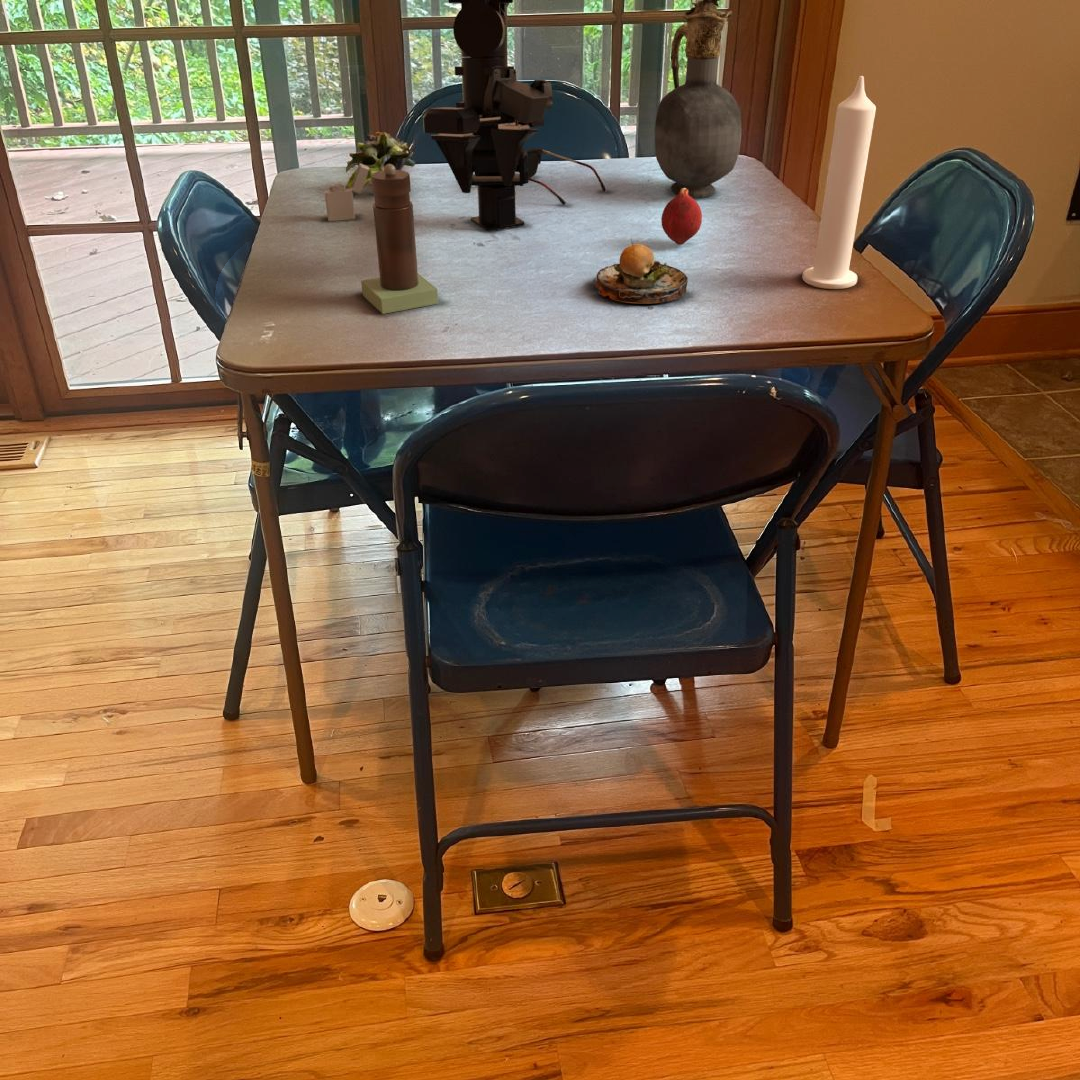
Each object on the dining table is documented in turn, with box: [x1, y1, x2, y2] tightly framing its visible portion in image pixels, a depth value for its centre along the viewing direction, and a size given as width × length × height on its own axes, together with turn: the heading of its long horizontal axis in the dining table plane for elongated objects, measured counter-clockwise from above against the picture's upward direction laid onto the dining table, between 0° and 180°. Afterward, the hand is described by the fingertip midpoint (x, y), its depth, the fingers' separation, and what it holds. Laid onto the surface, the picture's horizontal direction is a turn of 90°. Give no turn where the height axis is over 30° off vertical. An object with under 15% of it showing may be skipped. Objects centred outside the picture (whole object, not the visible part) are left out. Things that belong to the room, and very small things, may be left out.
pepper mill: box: [370, 164, 419, 291], centre depth 123 cm, size 5×5×15 cm
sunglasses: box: [515, 147, 607, 206], centre depth 170 cm, size 14×16×5 cm
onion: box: [660, 188, 703, 246], centre depth 144 cm, size 6×6×8 cm
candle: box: [801, 75, 877, 290], centre depth 126 cm, size 7×7×25 cm
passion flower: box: [345, 131, 416, 189], centre depth 169 cm, size 11×11×12 cm
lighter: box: [324, 163, 369, 222], centre depth 156 cm, size 7×2×8 cm, turn 106°
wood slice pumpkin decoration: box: [594, 238, 689, 305], centre depth 129 cm, size 12×12×8 cm
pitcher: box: [654, 0, 743, 199], centre depth 162 cm, size 11×19×30 cm, turn 17°
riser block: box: [360, 273, 439, 315], centre depth 128 cm, size 8×8×2 cm
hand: (487, 189), depth 132 cm, fingers open, 9 cm apart
